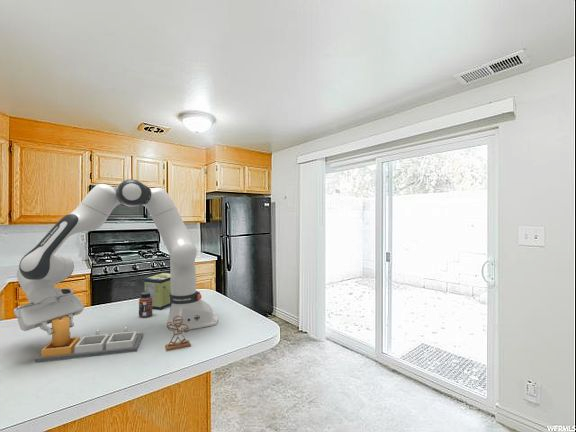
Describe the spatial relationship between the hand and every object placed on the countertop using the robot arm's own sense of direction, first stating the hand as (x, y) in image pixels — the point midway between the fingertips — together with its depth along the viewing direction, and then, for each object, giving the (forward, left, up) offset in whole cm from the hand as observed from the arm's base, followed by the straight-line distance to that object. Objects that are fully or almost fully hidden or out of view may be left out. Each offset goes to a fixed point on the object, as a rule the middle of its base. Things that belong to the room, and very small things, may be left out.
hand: (61, 330), depth 113 cm
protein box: (-29, -49, -9) cm, 58 cm away
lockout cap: (0, 0, -5) cm, 5 cm away
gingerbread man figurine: (-40, +5, -9) cm, 41 cm away
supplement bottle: (-23, -33, -9) cm, 41 cm away
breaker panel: (-10, -2, -9) cm, 13 cm away
